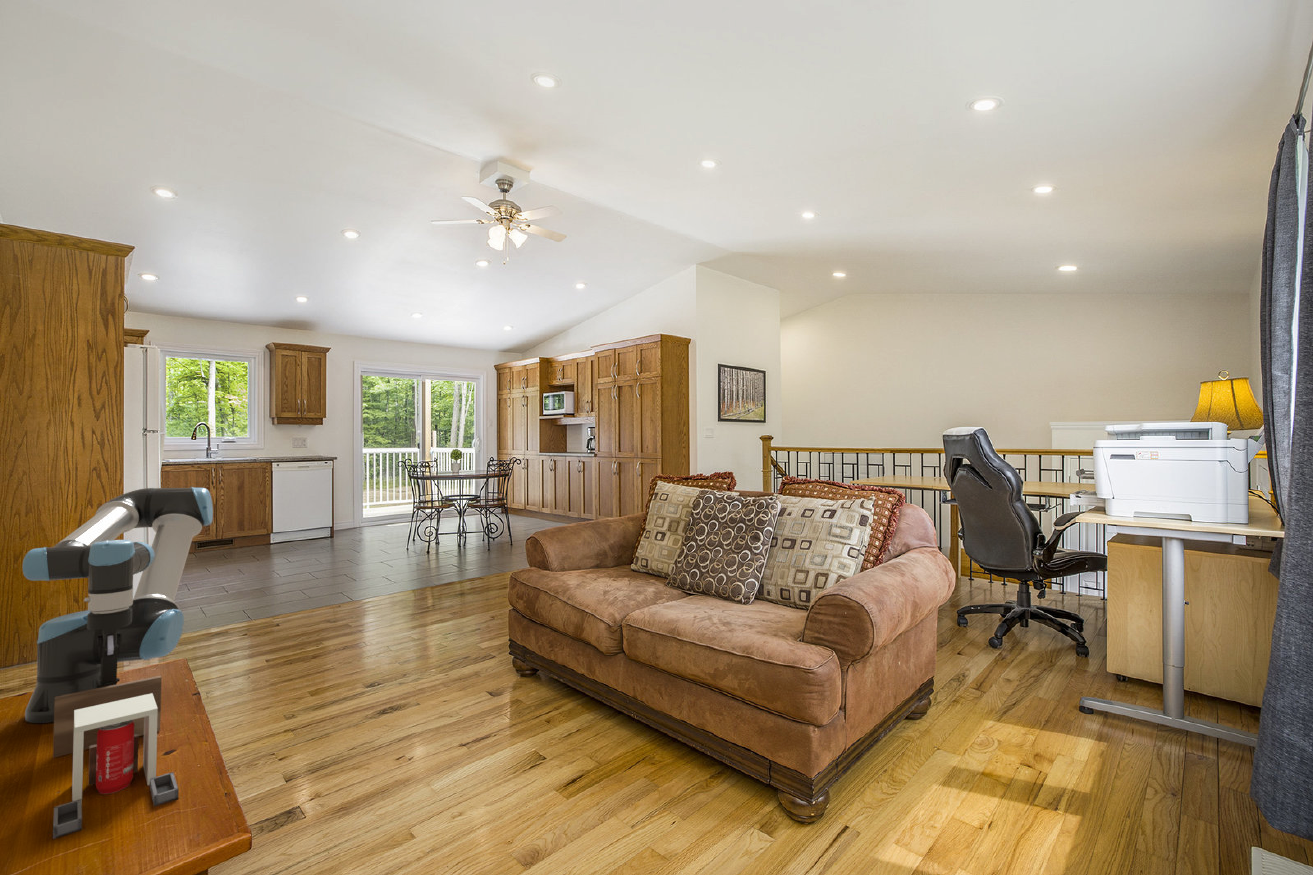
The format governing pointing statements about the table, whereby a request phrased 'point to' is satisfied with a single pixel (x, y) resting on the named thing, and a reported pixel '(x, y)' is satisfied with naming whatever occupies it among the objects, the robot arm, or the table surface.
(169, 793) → the pit
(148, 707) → the tunnel
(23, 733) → the table surface
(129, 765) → the beverage can
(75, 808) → the pit
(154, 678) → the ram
